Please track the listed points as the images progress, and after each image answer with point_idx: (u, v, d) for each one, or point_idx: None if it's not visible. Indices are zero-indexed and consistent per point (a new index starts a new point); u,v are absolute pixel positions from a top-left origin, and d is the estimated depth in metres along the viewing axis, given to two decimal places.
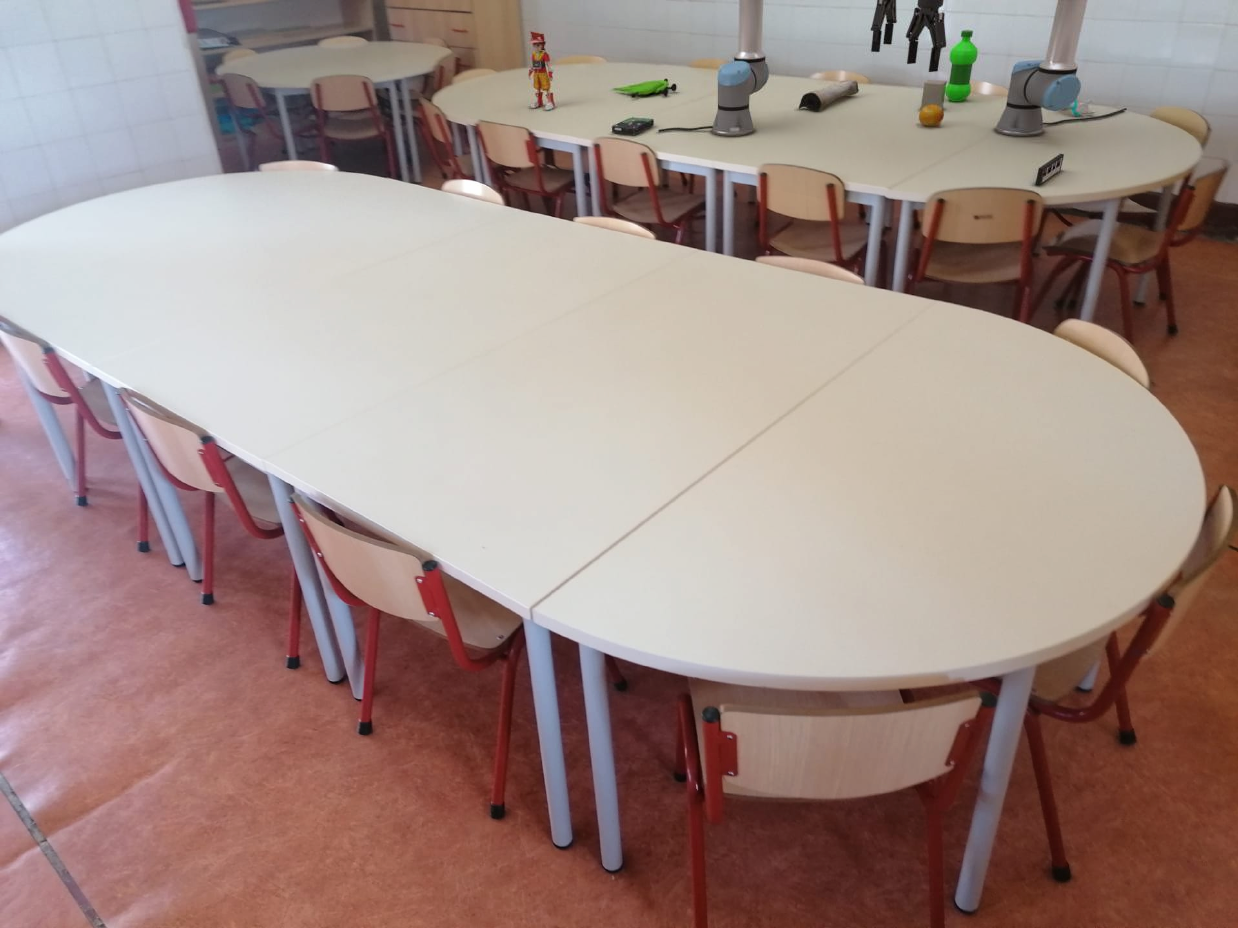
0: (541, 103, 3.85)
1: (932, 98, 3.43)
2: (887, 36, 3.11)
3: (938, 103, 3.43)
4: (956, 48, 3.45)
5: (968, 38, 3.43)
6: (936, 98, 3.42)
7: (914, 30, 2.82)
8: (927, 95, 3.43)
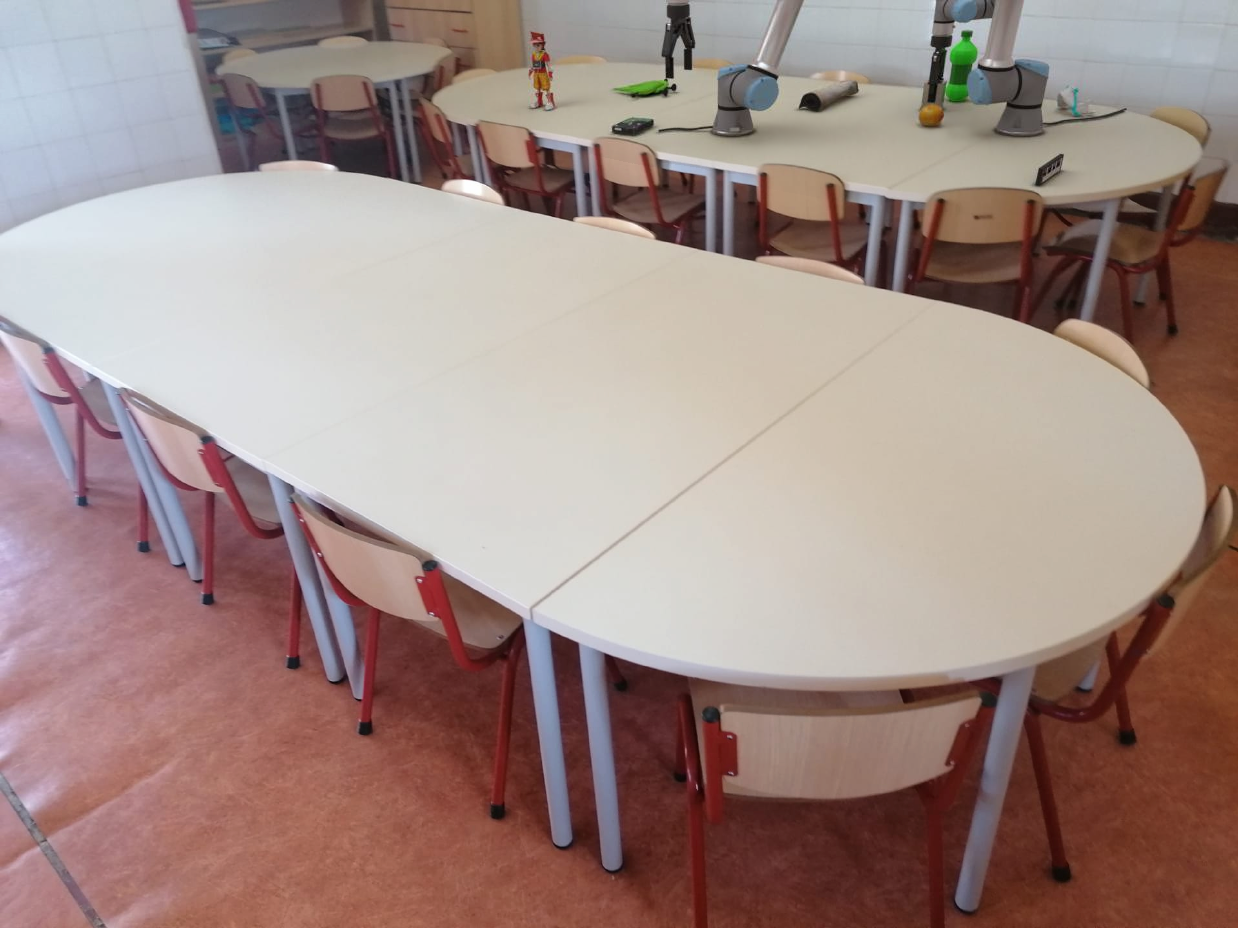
0: (541, 103, 3.85)
1: None
2: (687, 62, 3.04)
3: (938, 103, 3.43)
4: (956, 48, 3.45)
5: (968, 38, 3.43)
6: (936, 98, 3.42)
7: (938, 72, 3.37)
8: (927, 95, 3.43)
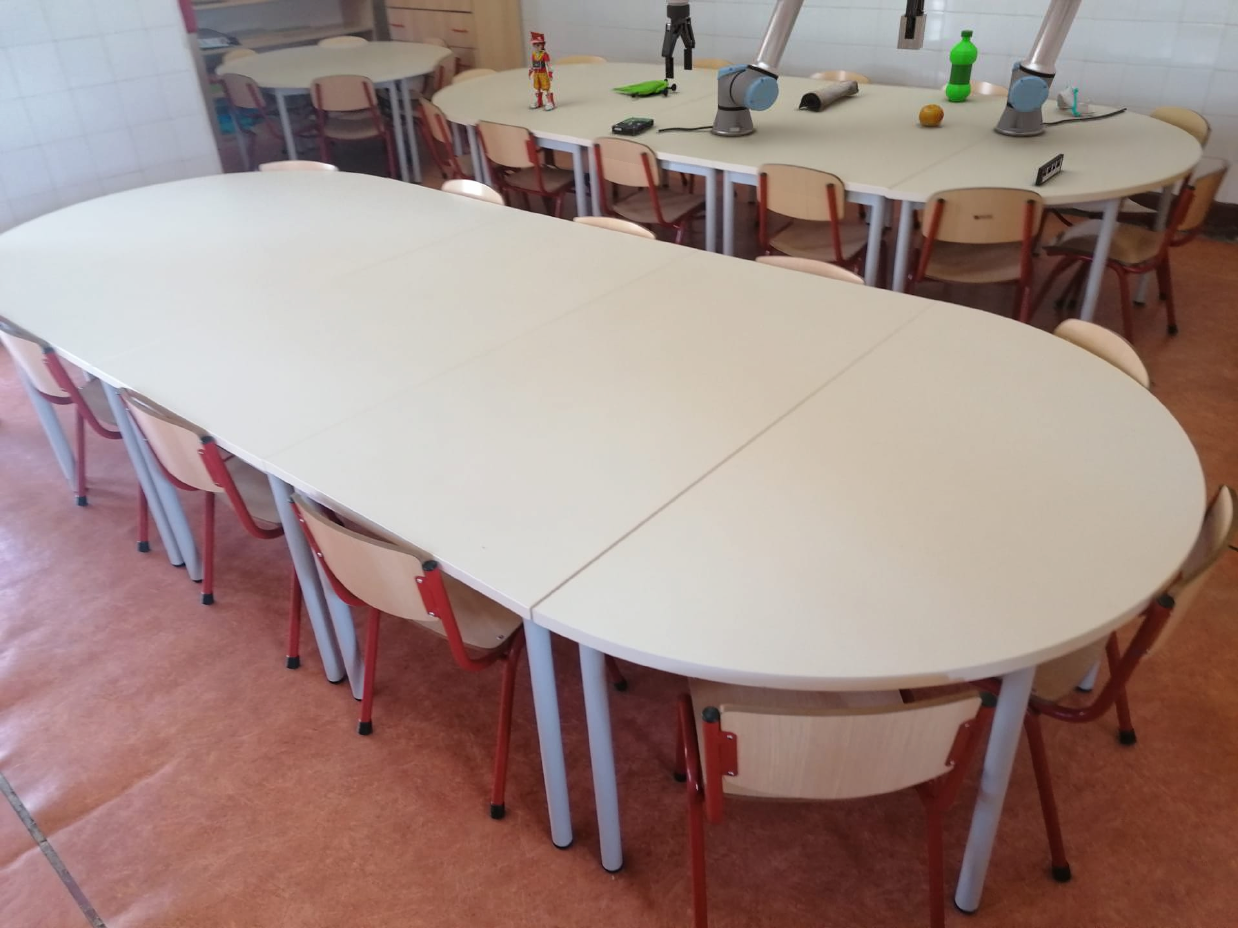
0: (541, 103, 3.85)
1: None
2: (687, 62, 3.04)
3: (916, 39, 2.99)
4: (956, 48, 3.45)
5: (968, 38, 3.43)
6: (915, 34, 2.98)
7: (916, 3, 2.93)
8: (904, 30, 2.99)
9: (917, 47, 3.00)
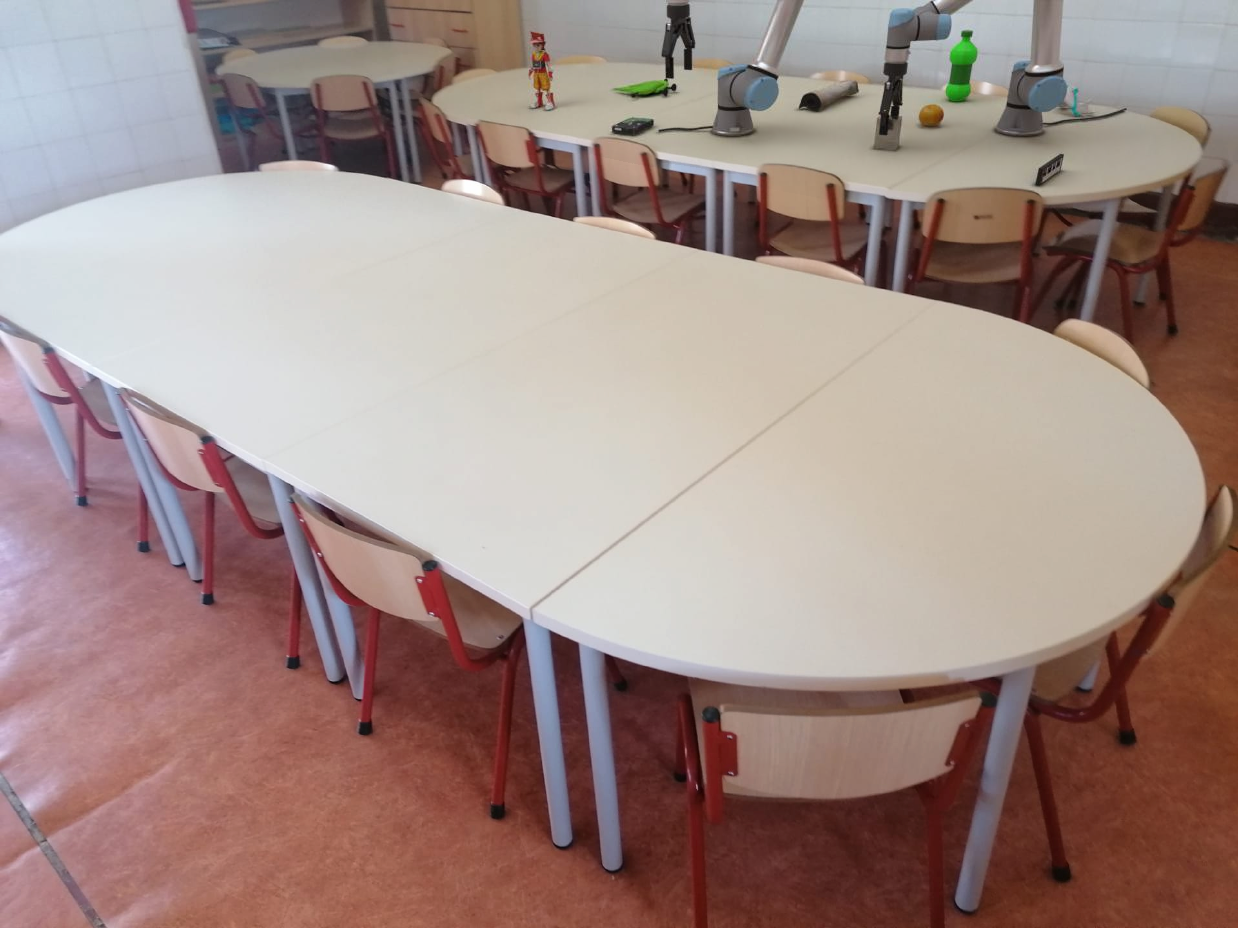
0: (541, 103, 3.85)
1: (886, 135, 3.05)
2: (687, 62, 3.04)
3: (892, 141, 3.05)
4: (956, 48, 3.45)
5: (968, 38, 3.43)
6: (891, 135, 3.04)
7: (891, 102, 2.96)
8: None
9: (893, 148, 3.06)
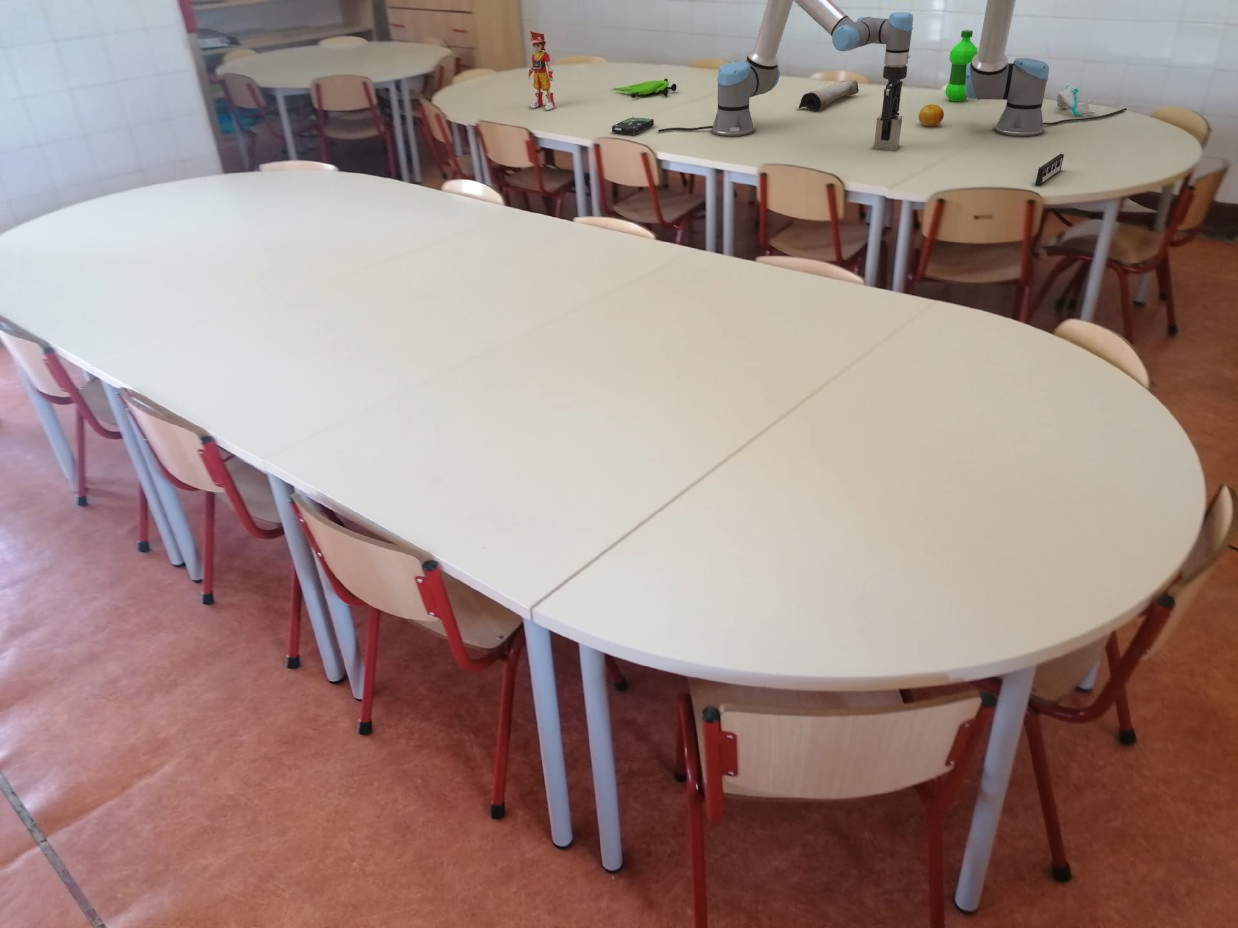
0: (541, 103, 3.85)
1: None
2: None
3: (892, 141, 3.05)
4: (956, 48, 3.45)
5: (968, 38, 3.43)
6: (891, 135, 3.04)
7: None
8: (881, 132, 3.05)
9: (893, 148, 3.06)
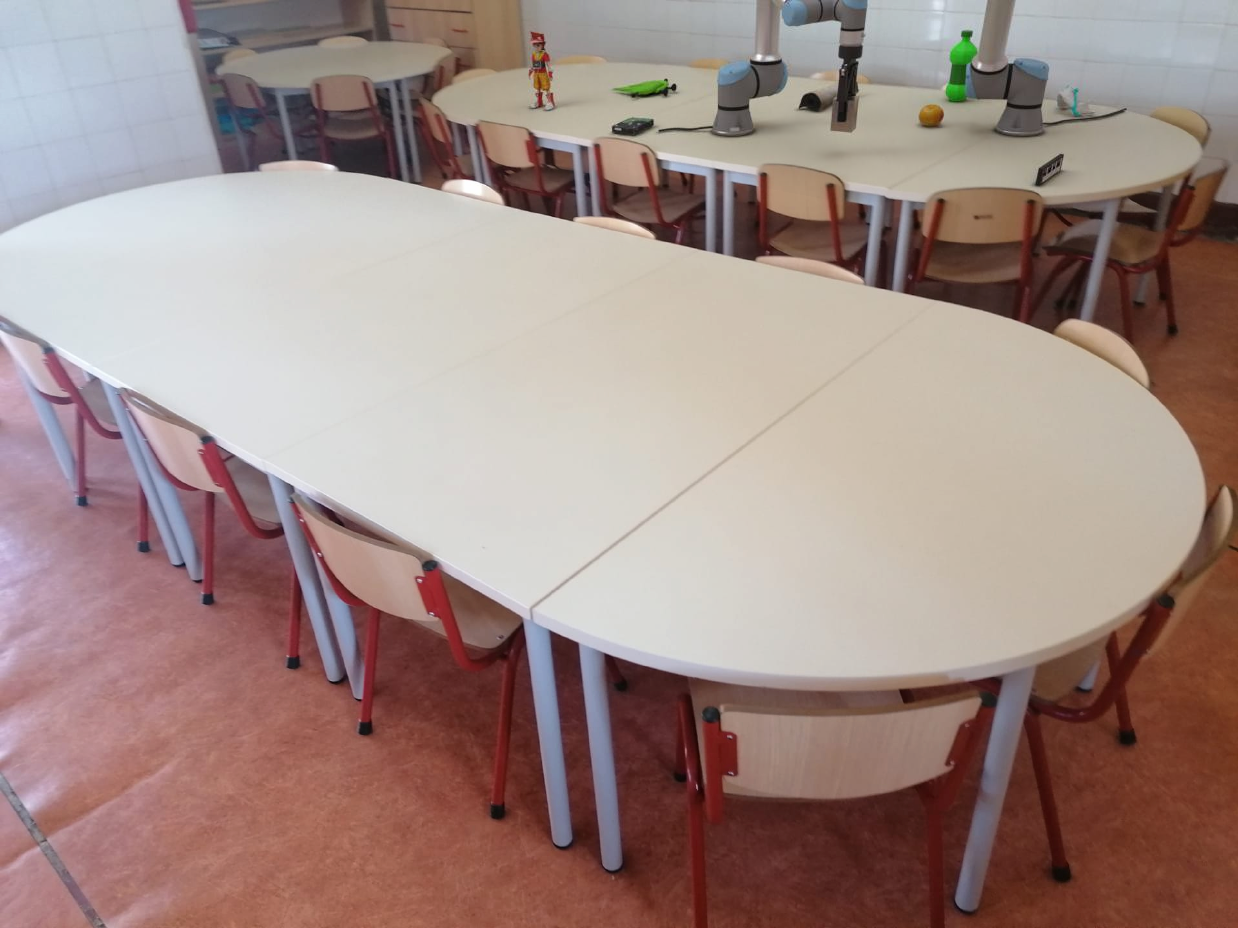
0: (541, 103, 3.85)
1: None
2: None
3: (849, 122, 2.97)
4: (956, 48, 3.45)
5: (968, 38, 3.43)
6: (847, 117, 2.97)
7: None
8: (837, 113, 2.98)
9: (850, 130, 2.99)
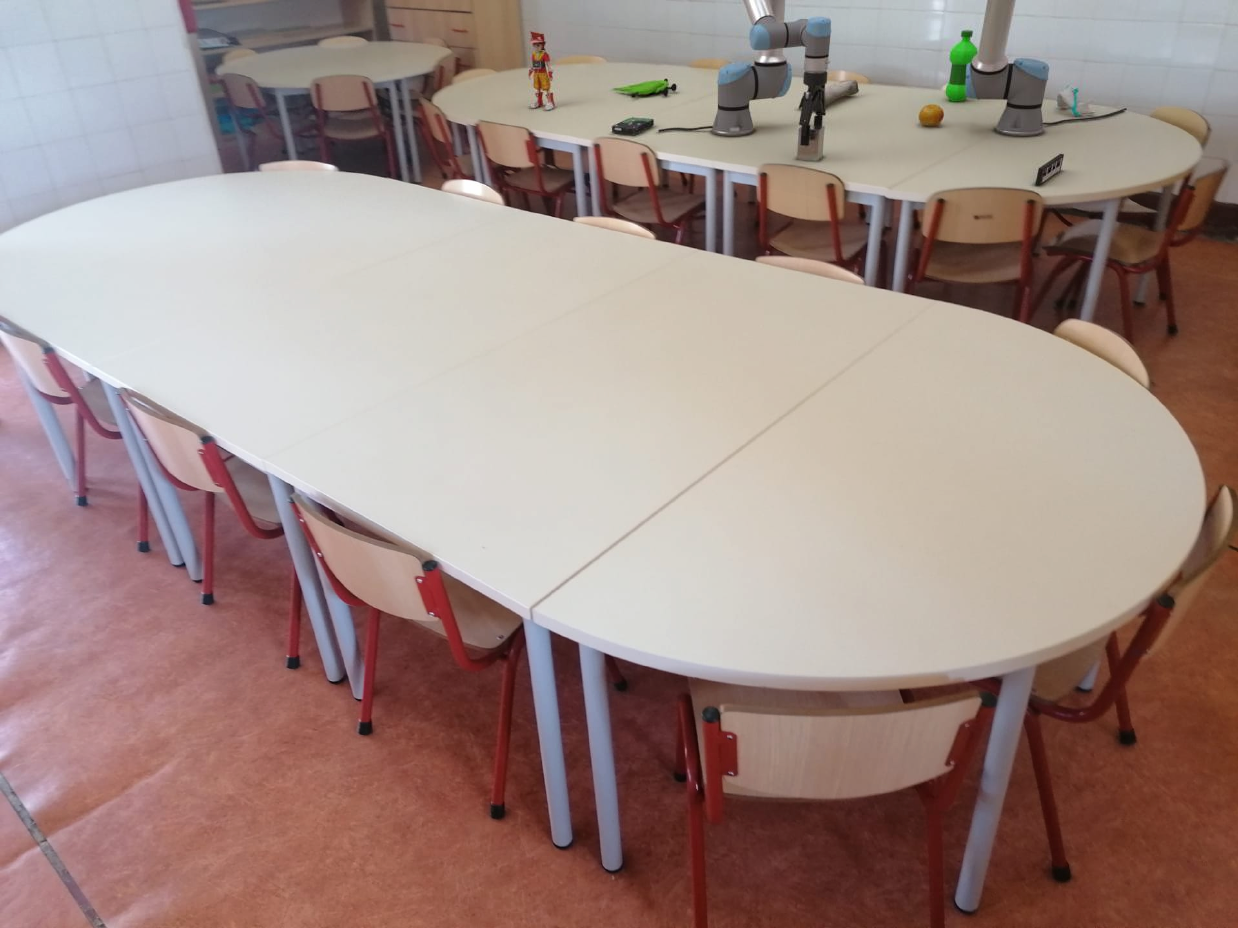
0: (541, 103, 3.85)
1: None
2: None
3: (815, 151, 2.99)
4: (956, 48, 3.45)
5: (968, 38, 3.43)
6: (813, 146, 2.99)
7: None
8: None
9: (816, 158, 3.01)
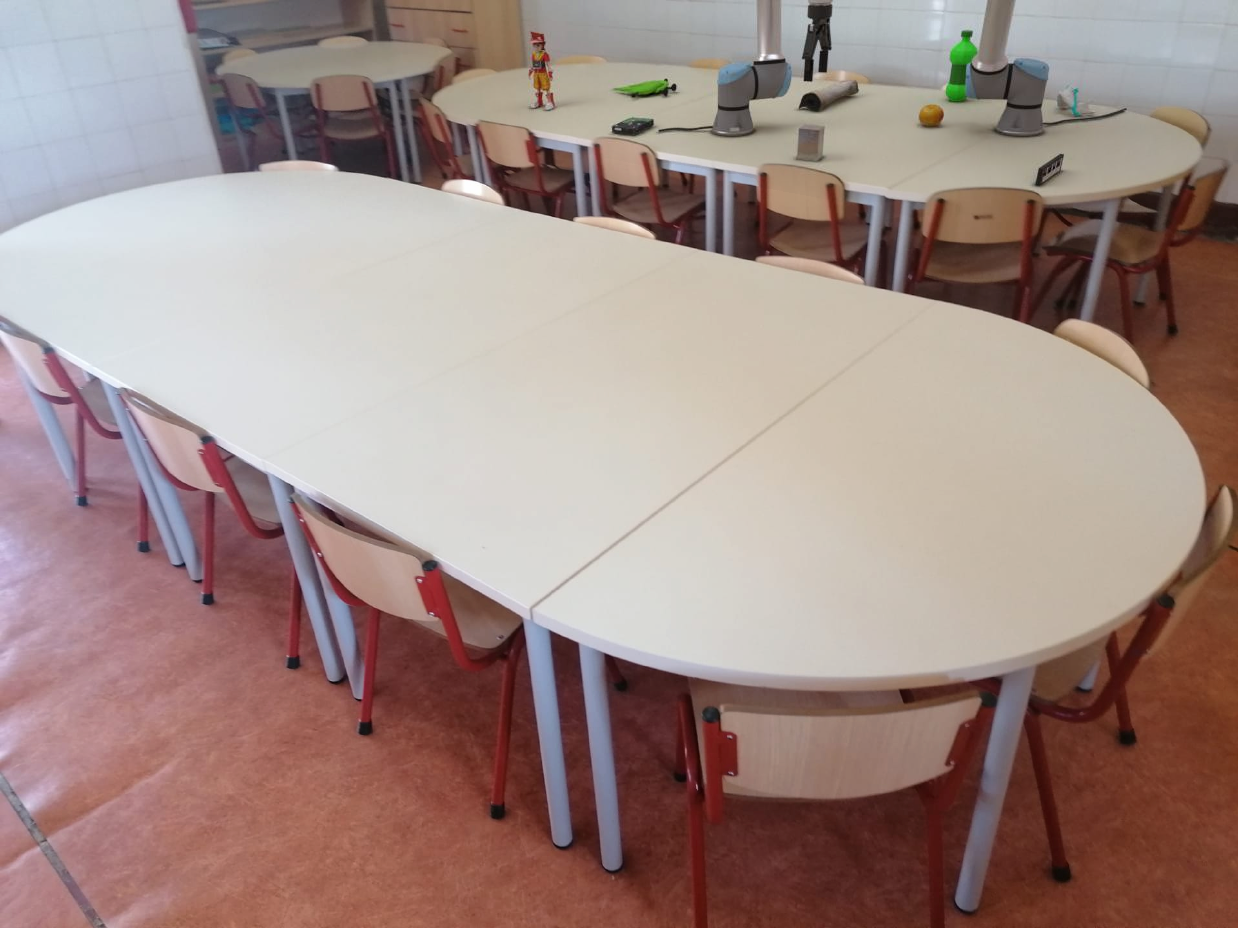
0: (541, 103, 3.85)
1: (808, 145, 3.00)
2: (822, 64, 2.93)
3: (815, 151, 2.99)
4: (956, 48, 3.45)
5: (968, 38, 3.43)
6: (813, 146, 2.99)
7: None
8: (803, 142, 3.00)
9: (816, 158, 3.01)
